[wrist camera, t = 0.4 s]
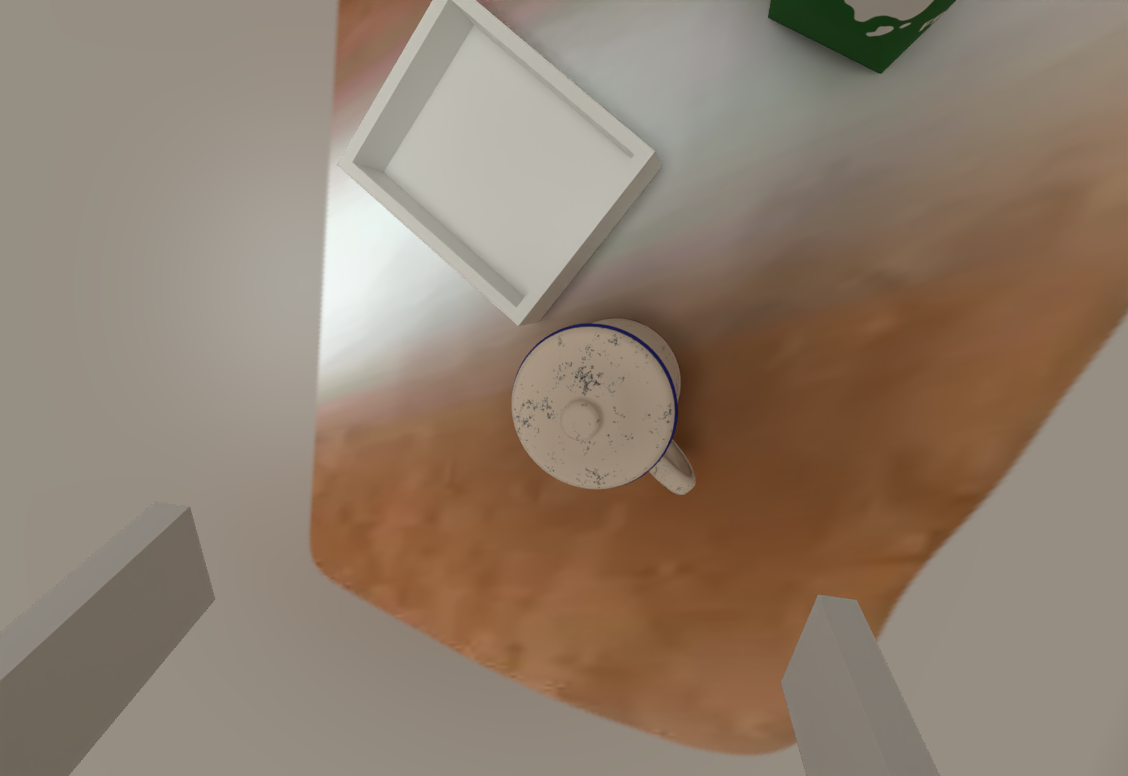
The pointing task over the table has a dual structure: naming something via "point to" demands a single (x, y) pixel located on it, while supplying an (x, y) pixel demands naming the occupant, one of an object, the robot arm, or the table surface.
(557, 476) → the teacup with lid
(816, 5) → the milk carton
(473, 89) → the white rectangular tray
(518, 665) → the table surface
